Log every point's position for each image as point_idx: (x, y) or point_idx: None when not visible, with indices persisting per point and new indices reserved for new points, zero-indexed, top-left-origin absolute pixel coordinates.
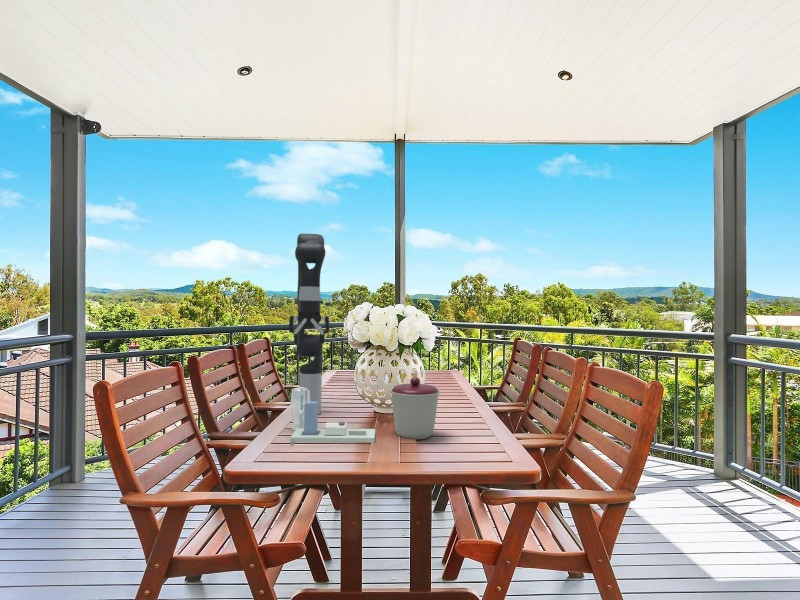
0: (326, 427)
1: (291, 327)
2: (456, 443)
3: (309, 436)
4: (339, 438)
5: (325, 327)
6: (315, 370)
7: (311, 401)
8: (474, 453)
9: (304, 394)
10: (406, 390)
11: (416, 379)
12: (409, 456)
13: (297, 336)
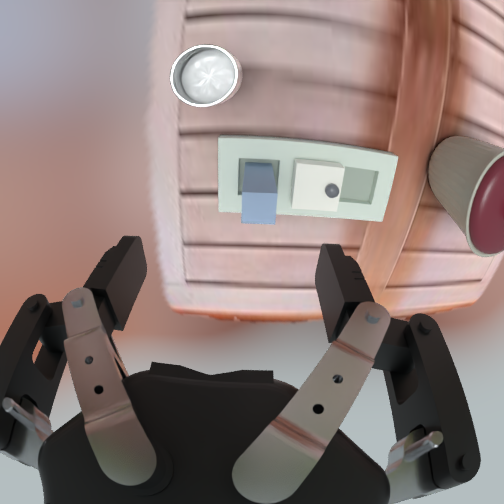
0: (295, 208)
1: (57, 374)
2: None
3: None
4: (319, 216)
5: (389, 399)
6: None
7: (258, 196)
8: (471, 256)
9: (223, 101)
10: (483, 247)
11: None
12: (405, 267)
13: (125, 319)
